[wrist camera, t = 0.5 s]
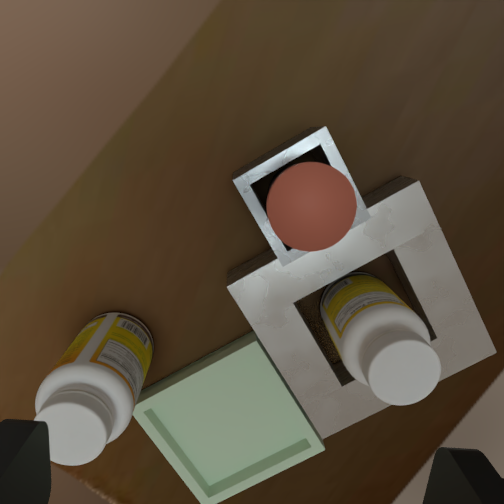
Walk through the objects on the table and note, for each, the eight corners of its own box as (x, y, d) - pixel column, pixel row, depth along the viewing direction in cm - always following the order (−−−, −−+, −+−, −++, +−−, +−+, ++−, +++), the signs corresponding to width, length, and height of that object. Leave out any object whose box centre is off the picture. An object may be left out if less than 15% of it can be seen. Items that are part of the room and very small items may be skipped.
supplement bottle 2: (386, 336, 33) (447, 417, 24) (317, 336, 33) (349, 419, 23) (393, 269, 32) (461, 328, 22) (320, 269, 31) (357, 329, 22)
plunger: (312, 142, 26) (332, 145, 21) (345, 206, 28) (371, 224, 22) (248, 180, 27) (251, 192, 22) (282, 241, 28) (294, 267, 23)
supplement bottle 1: (81, 372, 33) (15, 475, 23) (81, 306, 31) (11, 385, 22) (154, 378, 33) (119, 482, 23) (158, 312, 32) (123, 394, 22)
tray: (255, 329, 32) (256, 340, 31) (320, 434, 35) (325, 449, 33) (133, 394, 34) (128, 409, 32) (206, 490, 36) (205, 509, 35)
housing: (364, 95, 28) (390, 88, 23) (474, 333, 33) (514, 367, 28) (183, 201, 30) (173, 215, 25) (315, 413, 35) (328, 459, 30)
